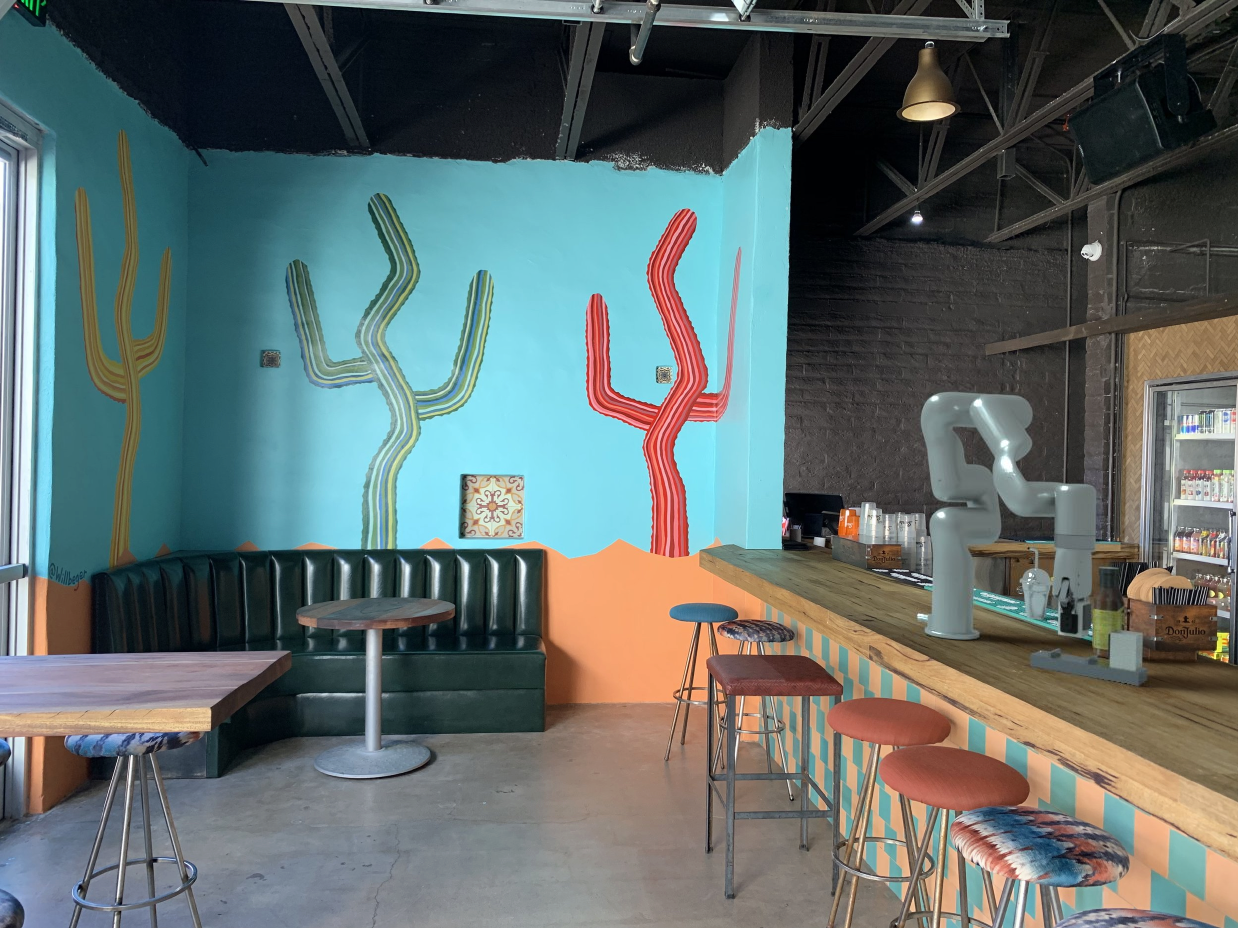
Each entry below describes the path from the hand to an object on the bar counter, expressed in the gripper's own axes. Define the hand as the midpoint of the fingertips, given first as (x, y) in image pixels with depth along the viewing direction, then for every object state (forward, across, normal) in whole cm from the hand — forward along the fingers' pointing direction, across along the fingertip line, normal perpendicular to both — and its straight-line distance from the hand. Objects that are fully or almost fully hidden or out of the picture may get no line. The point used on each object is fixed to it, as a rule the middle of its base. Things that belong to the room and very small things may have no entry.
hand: (1073, 630), depth 174 cm
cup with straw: (+8, -56, -27) cm, 63 cm away
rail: (+8, 0, +3) cm, 9 cm away
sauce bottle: (+9, -21, +1) cm, 23 cm away
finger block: (+1, 0, 0) cm, 1 cm away
